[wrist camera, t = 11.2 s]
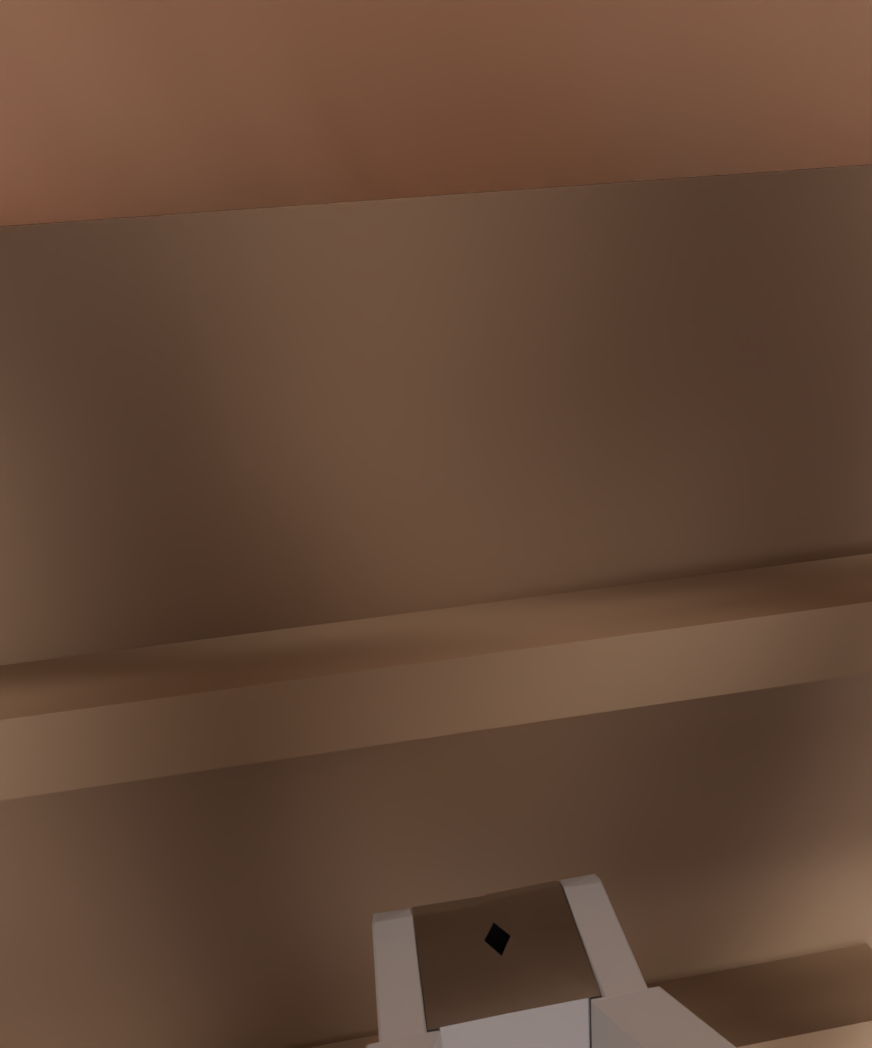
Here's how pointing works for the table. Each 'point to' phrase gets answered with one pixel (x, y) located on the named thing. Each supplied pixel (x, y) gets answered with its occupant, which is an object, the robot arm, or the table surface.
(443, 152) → the table surface
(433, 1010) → the robot arm
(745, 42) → the table surface
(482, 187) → the table surface
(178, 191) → the table surface
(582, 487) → the board
